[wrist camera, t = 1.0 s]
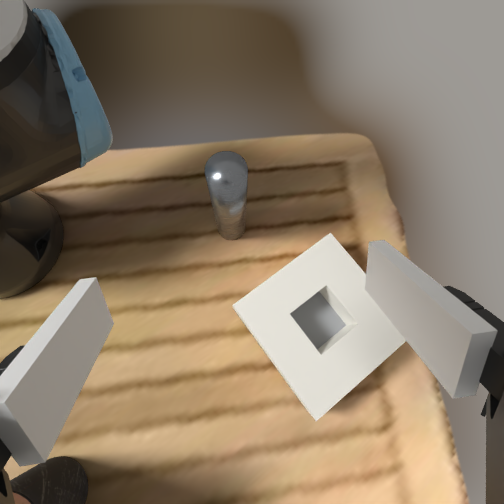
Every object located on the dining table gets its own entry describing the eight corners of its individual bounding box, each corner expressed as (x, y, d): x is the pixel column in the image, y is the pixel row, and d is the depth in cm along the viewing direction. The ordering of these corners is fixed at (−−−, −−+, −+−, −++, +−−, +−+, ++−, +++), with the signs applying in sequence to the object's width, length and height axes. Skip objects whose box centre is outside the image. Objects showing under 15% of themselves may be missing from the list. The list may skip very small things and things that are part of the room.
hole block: (233, 309, 39) (232, 305, 34) (320, 244, 42) (330, 232, 37) (306, 409, 36) (316, 421, 31) (394, 333, 39) (415, 332, 34)
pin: (211, 223, 42) (196, 165, 28) (234, 208, 43) (231, 143, 28) (228, 245, 41) (221, 197, 27) (251, 229, 42) (256, 174, 28)
